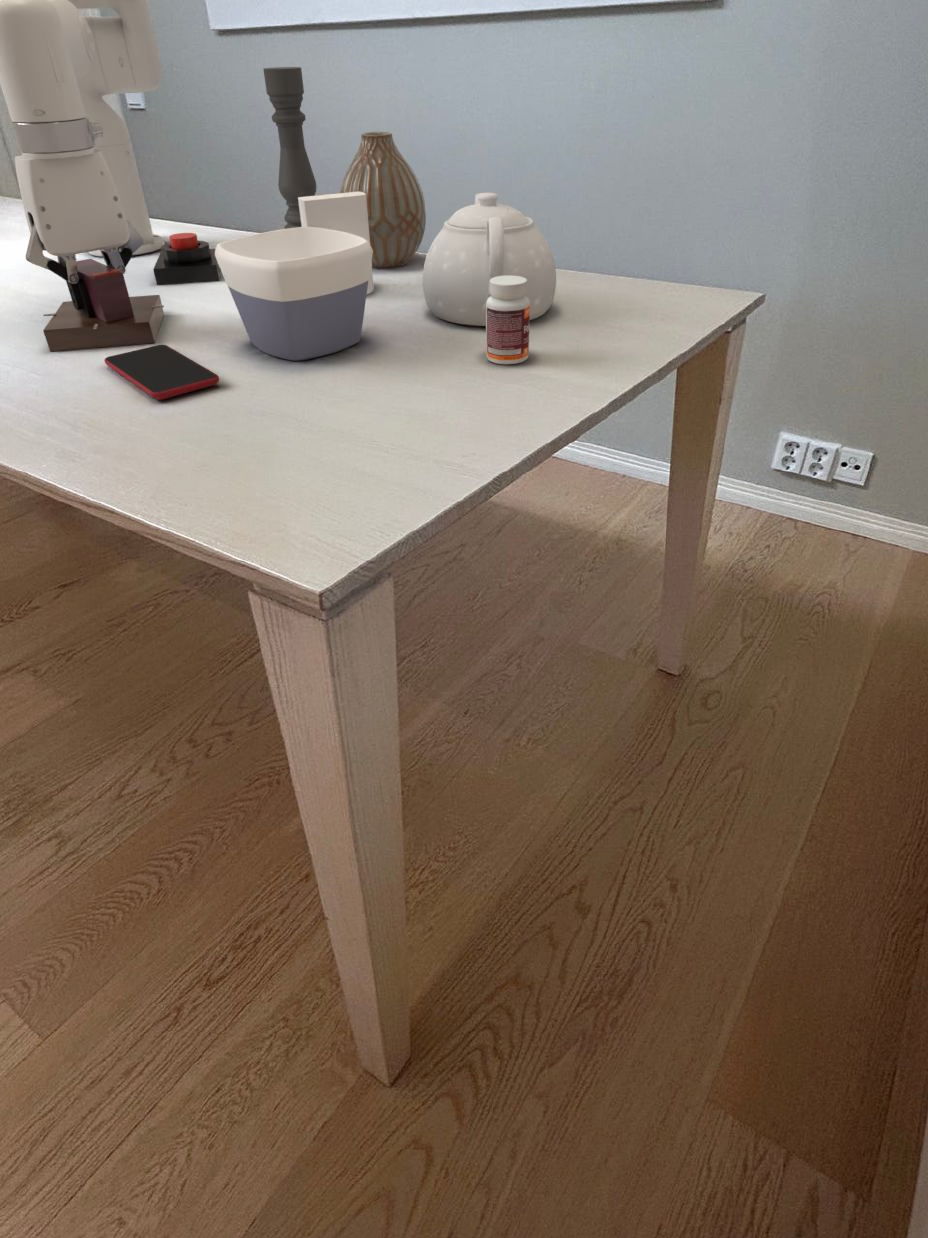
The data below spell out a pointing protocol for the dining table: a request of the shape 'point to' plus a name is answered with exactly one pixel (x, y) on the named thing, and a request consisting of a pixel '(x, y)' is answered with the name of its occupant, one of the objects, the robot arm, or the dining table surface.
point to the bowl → (298, 289)
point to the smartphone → (162, 371)
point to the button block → (186, 265)
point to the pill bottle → (507, 320)
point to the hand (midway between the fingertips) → (103, 309)
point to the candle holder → (290, 138)
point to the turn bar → (105, 290)
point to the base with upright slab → (338, 216)
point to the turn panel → (104, 326)
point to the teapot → (486, 261)
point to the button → (183, 240)
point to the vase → (388, 199)
